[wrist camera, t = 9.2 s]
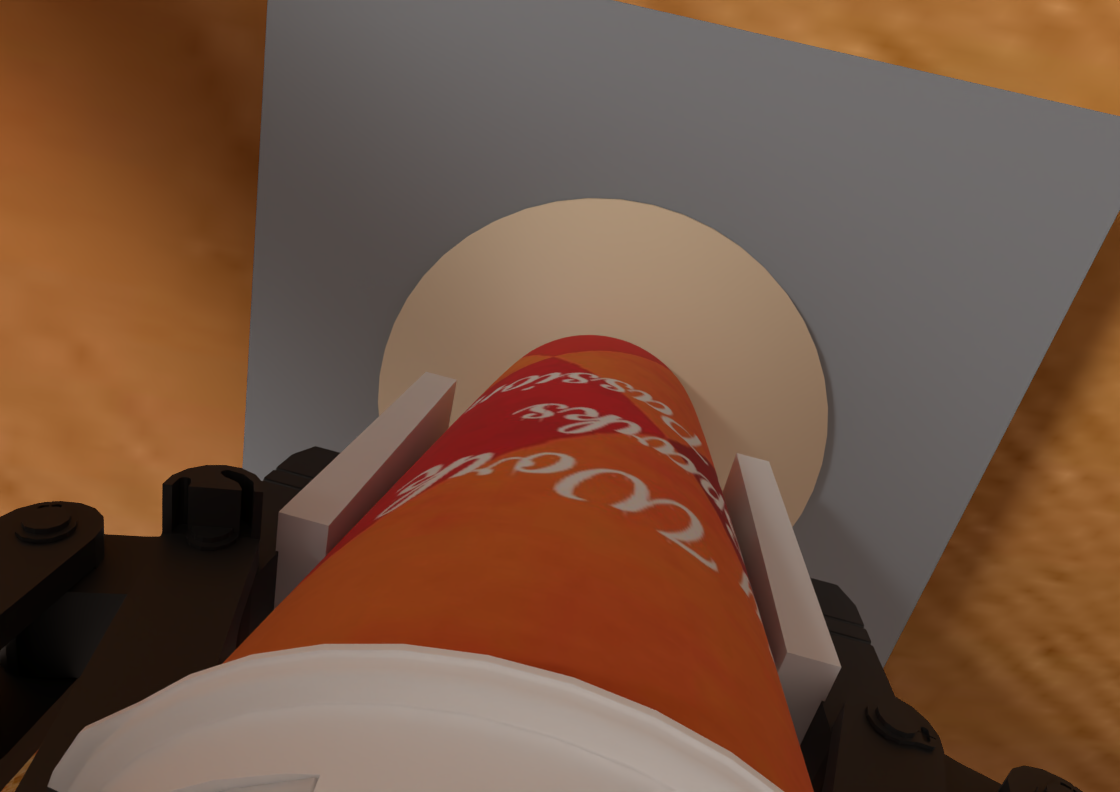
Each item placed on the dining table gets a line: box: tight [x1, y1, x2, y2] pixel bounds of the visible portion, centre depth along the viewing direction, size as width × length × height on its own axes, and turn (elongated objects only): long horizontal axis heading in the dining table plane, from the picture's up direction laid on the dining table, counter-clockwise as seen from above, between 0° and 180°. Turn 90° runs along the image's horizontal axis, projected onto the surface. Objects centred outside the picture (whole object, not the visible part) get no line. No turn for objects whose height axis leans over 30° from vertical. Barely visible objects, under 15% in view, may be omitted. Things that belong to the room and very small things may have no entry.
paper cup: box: [47, 335, 814, 792], centre depth 11 cm, size 8×8×14 cm
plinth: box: [243, 0, 1120, 668], centre depth 20 cm, size 20×20×4 cm
